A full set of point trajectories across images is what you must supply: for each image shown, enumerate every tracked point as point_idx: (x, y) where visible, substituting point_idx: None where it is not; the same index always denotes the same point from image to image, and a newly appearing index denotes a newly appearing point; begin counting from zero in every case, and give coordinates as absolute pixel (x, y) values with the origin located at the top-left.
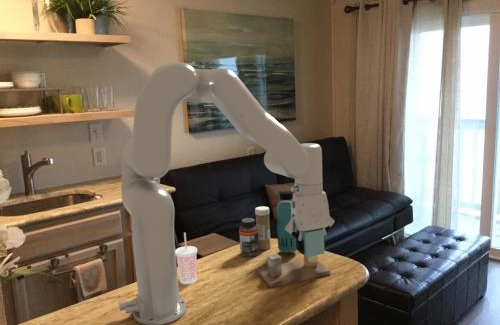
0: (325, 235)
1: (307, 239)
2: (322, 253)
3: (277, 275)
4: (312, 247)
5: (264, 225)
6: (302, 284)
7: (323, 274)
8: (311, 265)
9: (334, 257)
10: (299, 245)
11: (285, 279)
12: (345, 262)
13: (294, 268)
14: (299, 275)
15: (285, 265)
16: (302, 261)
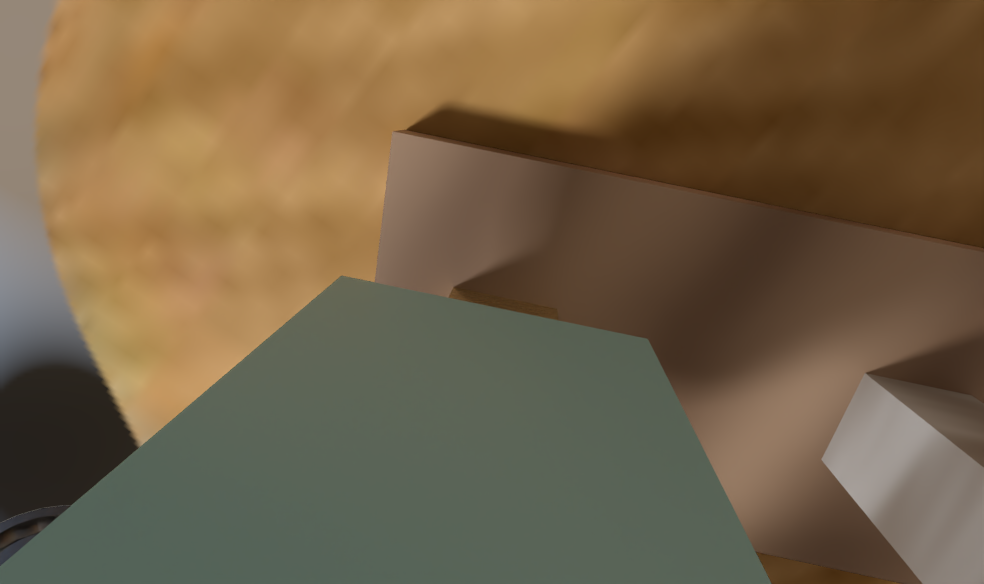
0: (50, 512)
1: (724, 580)
2: (371, 286)
3: (916, 381)
4: (545, 388)
5: None
6: (794, 126)
7: (485, 146)
8: (520, 312)
9: (158, 388)
10: None
11: (939, 260)
12: (122, 251)
13: None
14: (751, 242)
15: None
16: None
